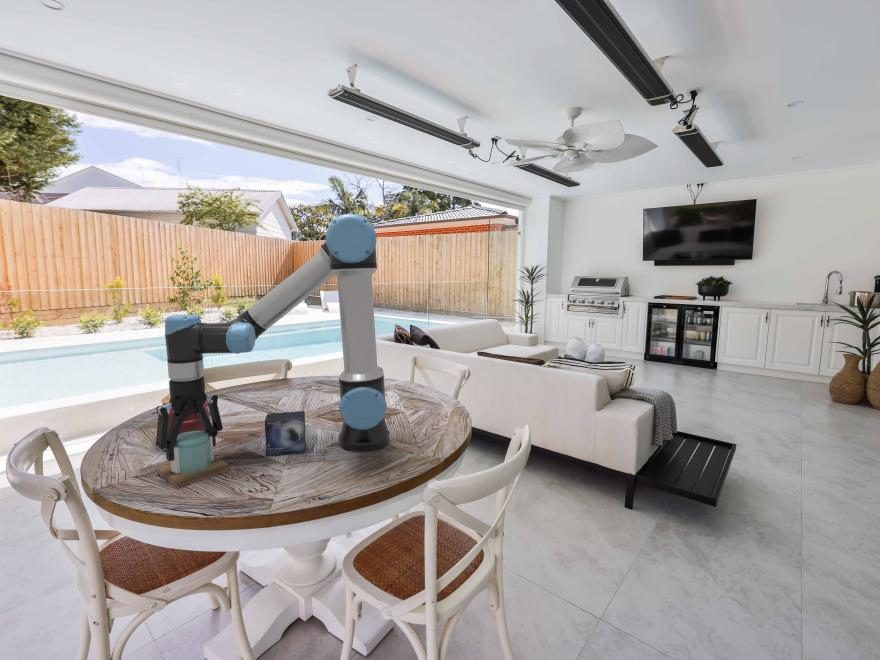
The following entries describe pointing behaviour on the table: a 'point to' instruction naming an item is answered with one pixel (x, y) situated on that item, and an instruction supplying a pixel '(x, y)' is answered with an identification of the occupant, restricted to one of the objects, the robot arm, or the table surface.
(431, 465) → the table surface
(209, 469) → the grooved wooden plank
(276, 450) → the small box
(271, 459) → the table surface
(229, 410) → the table surface
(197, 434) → the lidded container
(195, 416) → the canister
